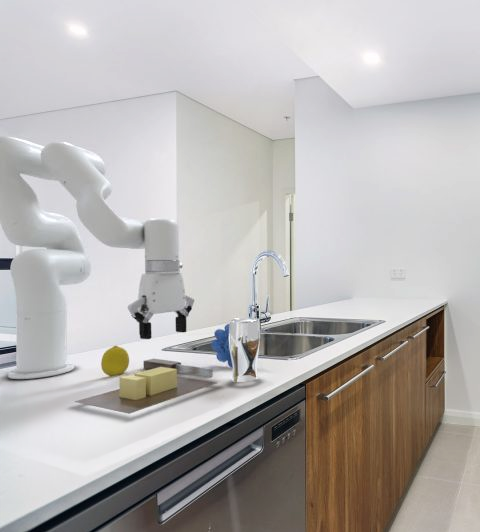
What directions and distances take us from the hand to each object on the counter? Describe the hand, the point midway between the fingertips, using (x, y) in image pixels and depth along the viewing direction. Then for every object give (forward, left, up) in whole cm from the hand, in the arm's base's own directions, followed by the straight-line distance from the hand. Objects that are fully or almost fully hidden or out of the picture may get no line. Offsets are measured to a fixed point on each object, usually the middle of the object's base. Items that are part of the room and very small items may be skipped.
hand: (164, 335), depth 101 cm
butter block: (+13, -12, -9) cm, 20 cm away
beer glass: (+24, +2, -10) cm, 27 cm away
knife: (+5, 0, -10) cm, 11 cm away
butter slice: (+13, -17, -9) cm, 24 cm away
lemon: (-8, -7, -10) cm, 15 cm away
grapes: (+12, +11, -10) cm, 19 cm away
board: (+13, -13, -10) cm, 21 cm away
